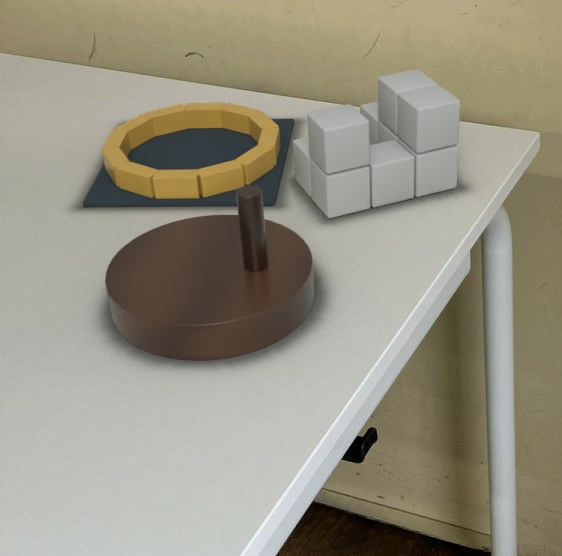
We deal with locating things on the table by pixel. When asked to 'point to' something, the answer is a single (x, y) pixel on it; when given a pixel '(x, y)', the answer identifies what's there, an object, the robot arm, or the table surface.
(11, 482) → the table surface
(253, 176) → the ring
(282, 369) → the table surface
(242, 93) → the table surface
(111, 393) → the table surface
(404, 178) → the puzzle cube
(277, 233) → the peg stand
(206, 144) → the mat
